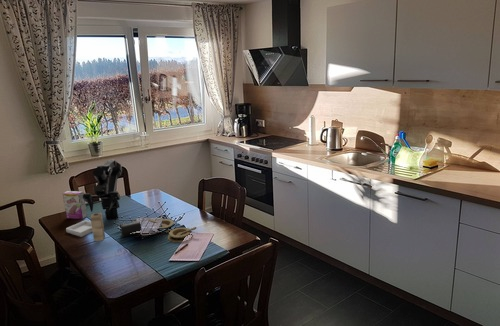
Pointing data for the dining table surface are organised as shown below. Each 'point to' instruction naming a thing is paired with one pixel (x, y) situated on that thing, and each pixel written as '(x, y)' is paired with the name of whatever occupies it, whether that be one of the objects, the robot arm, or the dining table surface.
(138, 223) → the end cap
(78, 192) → the candy bar box
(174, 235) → the tableware set
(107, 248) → the dining table surface
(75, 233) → the tray
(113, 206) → the robot arm
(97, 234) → the maple block
